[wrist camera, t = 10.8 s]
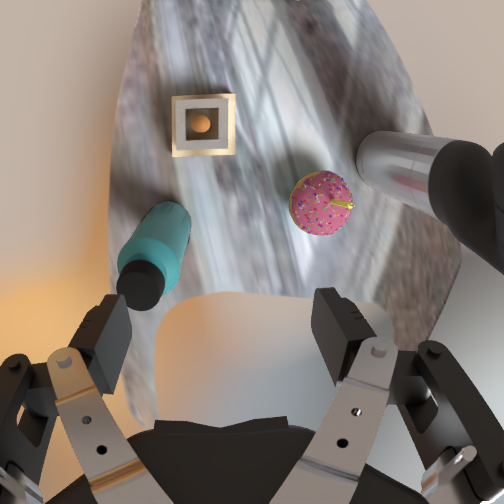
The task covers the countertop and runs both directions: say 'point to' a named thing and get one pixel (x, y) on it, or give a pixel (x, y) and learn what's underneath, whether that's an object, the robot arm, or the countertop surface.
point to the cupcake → (320, 203)
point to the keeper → (205, 126)
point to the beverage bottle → (153, 256)
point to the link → (183, 124)
